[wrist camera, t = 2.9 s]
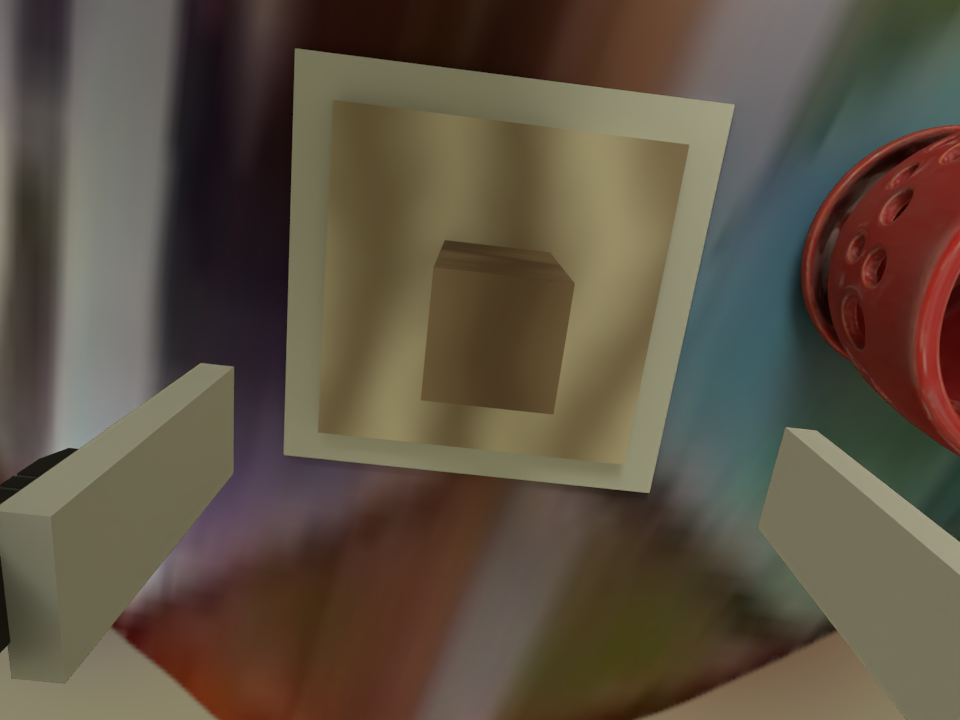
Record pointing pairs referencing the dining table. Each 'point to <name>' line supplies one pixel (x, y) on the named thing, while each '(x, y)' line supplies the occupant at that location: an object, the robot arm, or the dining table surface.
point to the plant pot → (895, 276)
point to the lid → (491, 281)
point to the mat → (509, 102)
